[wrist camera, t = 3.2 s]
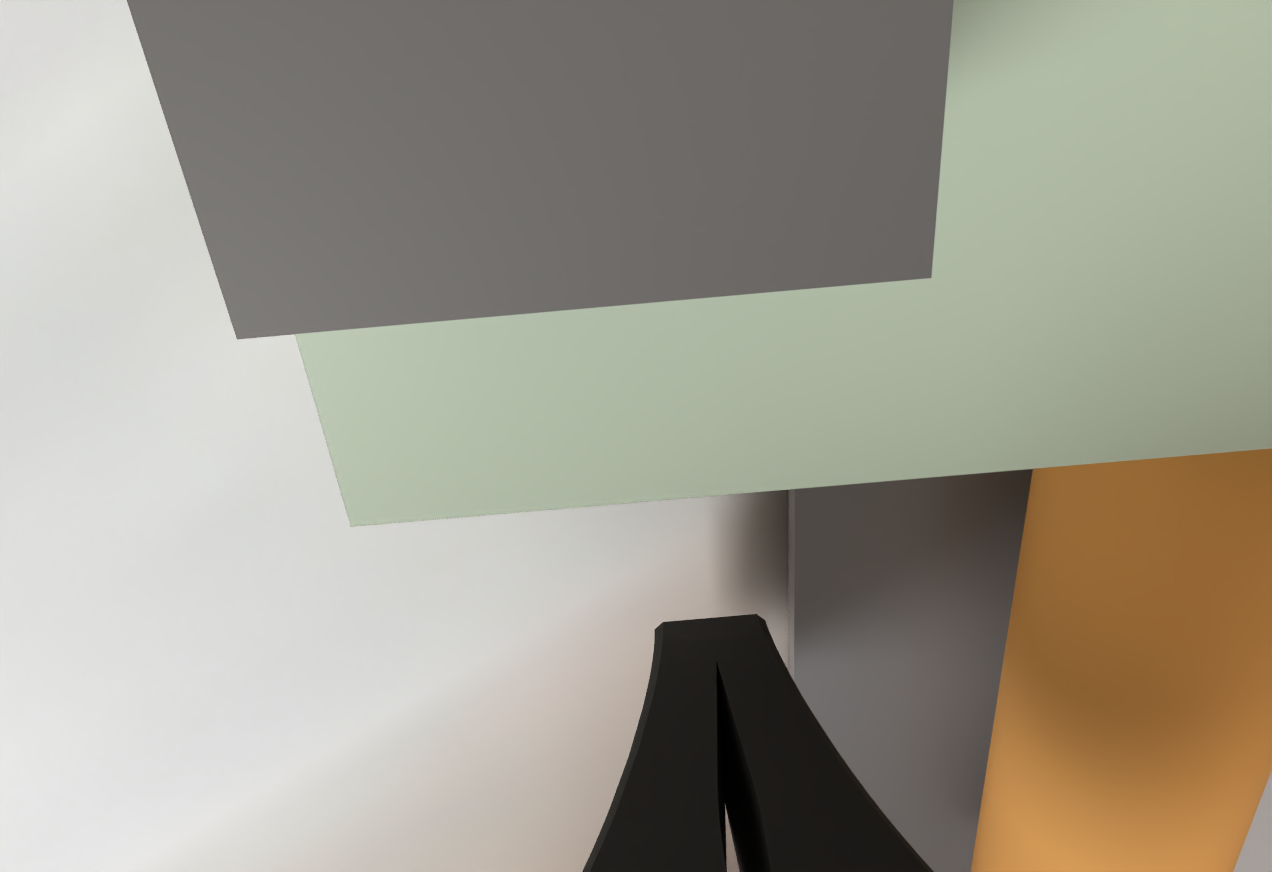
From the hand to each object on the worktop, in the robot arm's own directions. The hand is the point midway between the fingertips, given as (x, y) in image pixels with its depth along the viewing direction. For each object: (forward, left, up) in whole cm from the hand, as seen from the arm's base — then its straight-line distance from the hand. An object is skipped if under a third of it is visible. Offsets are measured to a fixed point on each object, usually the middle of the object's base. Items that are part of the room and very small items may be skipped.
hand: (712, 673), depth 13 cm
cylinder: (0, -5, +1) cm, 5 cm away
